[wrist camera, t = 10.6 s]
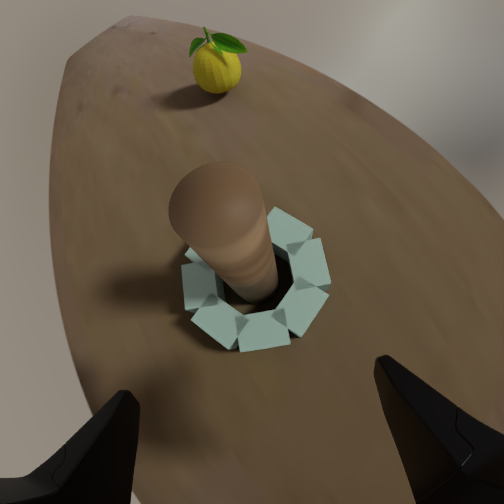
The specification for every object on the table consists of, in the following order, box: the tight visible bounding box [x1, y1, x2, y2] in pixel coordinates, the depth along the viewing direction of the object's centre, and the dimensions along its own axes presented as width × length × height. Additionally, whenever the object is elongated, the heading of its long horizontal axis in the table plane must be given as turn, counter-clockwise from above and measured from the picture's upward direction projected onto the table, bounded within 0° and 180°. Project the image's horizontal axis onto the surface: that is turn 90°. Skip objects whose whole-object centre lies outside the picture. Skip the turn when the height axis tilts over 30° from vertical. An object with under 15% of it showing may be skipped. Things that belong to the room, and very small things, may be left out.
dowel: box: [169, 162, 279, 304], centre depth 16 cm, size 3×3×13 cm
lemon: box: [189, 27, 248, 94], centre depth 25 cm, size 7×6×10 cm
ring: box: [181, 207, 331, 352], centre depth 21 cm, size 10×10×2 cm
